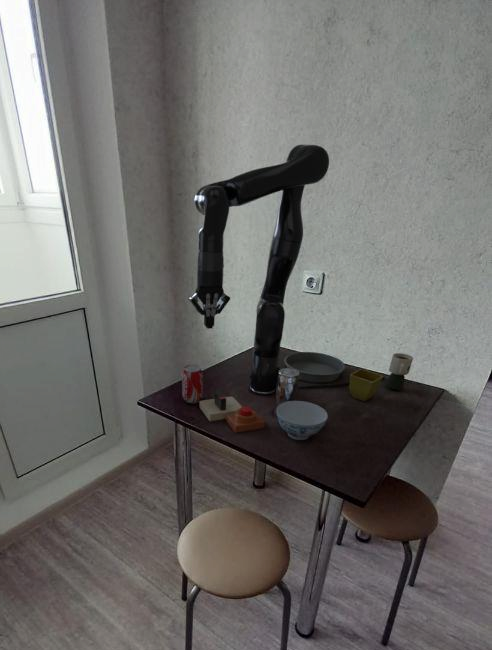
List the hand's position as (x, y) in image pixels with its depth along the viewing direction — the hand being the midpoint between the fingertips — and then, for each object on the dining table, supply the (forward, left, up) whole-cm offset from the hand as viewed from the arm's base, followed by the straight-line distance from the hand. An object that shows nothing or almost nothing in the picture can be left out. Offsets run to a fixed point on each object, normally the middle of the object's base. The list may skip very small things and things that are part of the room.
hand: (209, 327), depth 123 cm
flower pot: (-56, +12, -27) cm, 63 cm away
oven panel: (-3, +6, -27) cm, 28 cm away
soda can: (+4, -5, -27) cm, 28 cm away
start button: (-7, +16, -23) cm, 29 cm away
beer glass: (-22, +14, -27) cm, 37 cm away
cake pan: (-52, -14, -27) cm, 60 cm away
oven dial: (-2, +7, -24) cm, 25 cm away
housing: (-7, +16, -27) cm, 32 cm away
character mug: (-74, +9, -27) cm, 79 cm away
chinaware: (-20, +27, -27) cm, 43 cm away
